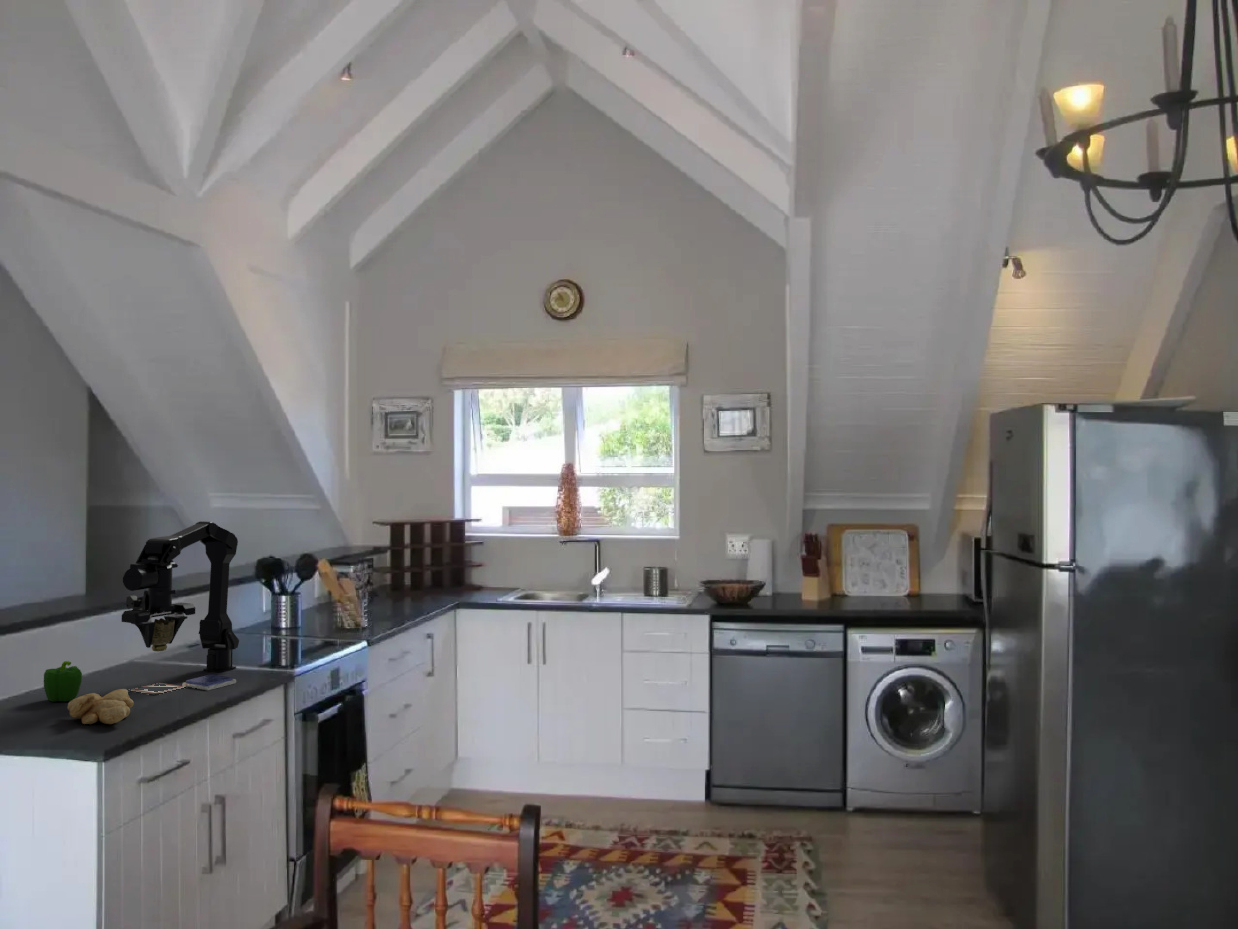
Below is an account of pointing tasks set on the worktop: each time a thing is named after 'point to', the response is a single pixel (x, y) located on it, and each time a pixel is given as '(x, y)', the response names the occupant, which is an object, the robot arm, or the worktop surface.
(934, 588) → the worktop surface
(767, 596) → the worktop surface
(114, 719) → the ginger root
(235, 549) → the robot arm
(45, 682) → the bell pepper
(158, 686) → the marked card
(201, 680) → the ink pad
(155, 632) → the ornate bronze cup
